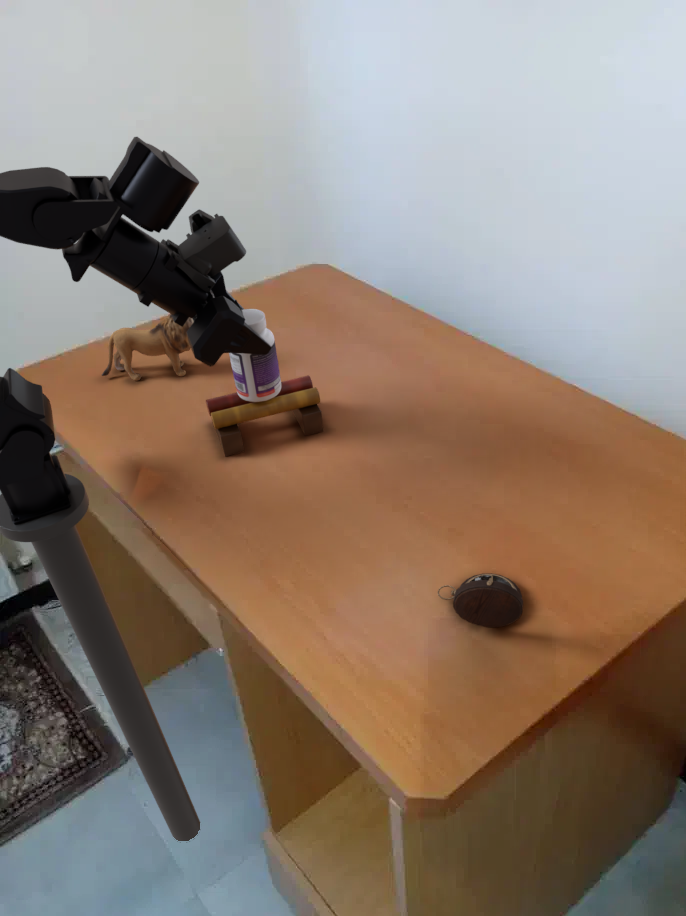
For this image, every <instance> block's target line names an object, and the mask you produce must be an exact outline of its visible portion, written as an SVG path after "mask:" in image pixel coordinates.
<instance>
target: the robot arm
mask: <svg viewBox="0 0 686 916" xmlns="http://www.w3.org/2000/svg"><path fill="white" fill-rule="evenodd" d="M199 184H200V181H199V179H198V178H197V176H195V174H194V173H192V172H191V171H190V170H189V169H188V168H187V167H186V166H185V165H184V164H182V162H180V161H179V160H178V159H176V158H175V157H174V156H173V155H171V154H170V153H169V152H167V151H165V150H164V149H163V150H161V149H159V148H158V147H156V146H154V145H153V144H150V143H148V142H146V141H144V140H143V139H141V138H140V137H139V136H134V137H133V138H132V140H131V141H130V143H129V144H128V146H127V148H126V152H125V154H124V157H123V158H122V160H121V161H120V163H119V164H118V166H117V167H116V169H115V170H114V172H113V174H112V175H111V177H110V179H109V177H108V176H106V175H67V174H66V172H64V171H63V170H60V169H58V168H55V167H50V166H40V167H39V166H38V167H30V168H21V169H12V170H11V169H10V170H7V171H3V172H0V237H1V238H4V239H7V240H8V241H12V242H14V243H18V244H21V245H28V246H33V247H38V248H43V249H44V248H45V249H49V250H61V252H62V257H63V259H64V261H65V262H66V264H67V266H68V269H69V271H70V276H71V279H72V281H73V282H75V283H79V282H80V281H81V279H83V276H85V274H86V272H87V270H88V269H89V267H90V268H93V269H94V270H96V271H98V272H99V273H101V274H103V275H104V276H106V277H108V278H110V279H111V280H112V281H113V280H114V282H116V283H118V284H119V285H121V286H123V287H125V288H126V289H128V290H130V291H131V292H133V293H135V294H136V295H137V298H138V302H139V303H141V304H142V305H144V306H146V307H147V308H149V307H150V305H151V304H153V305H155V306H156V307H158V308H160V309H161V310H163V311H165V312H167V313H169V314H171V315H172V318H173V320H174V322H175V323H176V324H178V325H180V326H182V327H183V325H184V324H185V323H186V321H187V320H188V318H189V317H190V318H192V319H193V321H194V322H193V324H192V325H191V327H190V328H189V329H188V331H187V336H188V341H189V344H190V347H191V348H190V350H191V352H192V354H193V356H194V359H196V360H197V361H199V362H201V363H203V364H204V365H206V366H207V367H209V368H211V367H214V366H215V365H216V364H217V363H218V361H219V360H220V358H221V357H222V356H223V355H224V354H229V353H244V354H260V355H267V354H268V353H269V351H270V350H271V349H272V347H271V346H270V345H269V344H268V343H267V342H266V341H265V340H264V339H263V338H262V337H261V336H260V335H259V334H258V333H256V332H255V331H254V330H253V329H252V328H251V327H250V326H249V325H247V324H246V323H245V318H244V316H243V312H242V310H243V309H245V308H244V307H243V306H242V304H240V303H239V302H238V300H237V299H235V298H234V297H233V295H231V293H230V292H229V291H228V290H227V288H226V283H225V277H224V274H223V272H222V271H223V270H225V269H226V268H227V267H229V266H231V265H232V264H233V263H235V262H236V263H237V262H239V261H241V260H242V259H244V258H245V256H246V254H247V249H246V247H245V246H244V245H243V242H241V240H240V238H239V237H238V236H237V234H236V233H235V231H234V229H233V228H232V227H231V225H230V224H229V222H228V221H227V220H226V218H225V216H224V215H219V214H218V213H215V214H214V215H213V216H212V215H210V214H209V213H207V212H205V211H204V210H202V209H197V210H195V211H193V213H191V214H190V215H189V216H188V221H189V227H190V232H191V233H190V232H188V233H187V234H185V235H186V239H185V240H183V241H182V242H181V243H180V244H177V243H175V242H174V241H172V240H171V239H169V238H168V239H164V238H163V239H161V241H159V240H158V239H156V238H155V237H153V236H151V235H150V234H148V233H147V232H149V233H153V232H156V233H158V234H160V233H161V232H162V230H165V231H168V230H169V229H170V227H171V226H172V224H173V223H174V221H175V220H176V219H177V217H178V215H179V214H180V213H181V211H182V210H183V208H184V207H185V205H186V204H187V202H188V201H189V199H190V197H191V196H192V195H193V193H194V192H195V191H196V189H197V187H198V186H199ZM123 216H124V217H126V218H128V219H129V220H130V221H131V222H132V223H131V222H130V221H128V220H126V218H123ZM136 225H137V226H138V227H137V226H136ZM142 229H143V230H145V231H147V232H145V231H143V230H142ZM43 392H44V391H43V385H41V384H38V383H34V382H32V381H29V380H27V379H26V378H25V377H23V375H21V374H20V373H19V372H18V371H16V370H15V369H13V368H11V367H8V368H7V370H6V371H5V373H4V375H3V376H0V494H2V495H3V497H4V499H5V501H6V504H7V506H8V508H9V511H10V515H11V519H12V522H13V524H14V525H19V524H22V523H25V522H28V521H31V520H34V519H37V518H40V517H43V516H47V515H50V514H53V513H56V512H59V511H62V510H65V509H68V508H70V507H71V503H70V500H69V497H68V494H70V493H71V491H70V488H69V485H68V482H67V479H66V477H65V474H66V473H65V472H64V470H63V467H62V465H61V462H60V459H59V457H58V455H56V454H53V455H52V454H51V451H52V450H53V448H54V446H55V442H56V434H55V426H54V425H55V423H54V417H53V409H52V404H51V401H50V399H49V397H48V396H47V395H46V394H45V393H43Z"/></svg>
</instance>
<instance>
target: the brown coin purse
mask: <svg viewBox="0 0 686 916" xmlns="http://www.w3.org/2000/svg"><path fill="white" fill-rule="evenodd" d="M443 588H451V589H452V590H450V596H452V597H448V598H447V597H443V596H441V594H440V591H441V590H442V589H443ZM437 596H438V597H439V598H440V599H442V600H444V601H450V600H452V601H453V603H452V604H453V606H452V607H453V609H454V611H455V613H456V614H457V615H458V616H459V617H460V618H461V619H462V620H464V621H466V622H467V623H470V624H472V625H475V626H478V627H484V628H498V627H505V626H508V625H511V624H513V623H515V622H516V621H518V620H519V619H520V618H521V617H522V615H523V611H524V610H523V609H524V600H523V594H522V592H521V589H520V588H519V586H518V585H517V584H516V583H515V582H514V581H513V580H511V579H510V578H508V577H506V576H503V575H501V574H497V573H479V574H474V575H472V576H470V577H469V578H466V579H465V580H464V581H463V582H462V583H461V584H460V586H459V587H458V588H457V589H456V587H454V586H453V585H448V584H446V585H445V584H444V585H442V586H440V587H439V588H438V590H437Z"/></svg>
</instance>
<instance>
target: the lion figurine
mask: <svg viewBox="0 0 686 916" xmlns="http://www.w3.org/2000/svg"><path fill="white" fill-rule="evenodd" d="M193 322H194V321H193V319H192V318H190V317H189V318H188V320H187V321H186V323H185V324H184V325H183V327H182V326H180V325H178V324H176V323H175V322H174V320H173V318H172V315H171V314H170V313H169V314H168V315H167V316H166V317H164V319H163V320H160V321H159V322H158V323H157V324H156V325H155V326H154V327H153V328H151V329H136V328H132V327H122V328H119V329H116V330H114V331H113V332H112V333H111V335H110V337H109V339H108V347H107V348H108V364H107V367H106V368H105V369H104V371H103V372H102V373H101V376H102V377H106V376H109V374H110V373H111V370H112V366H113V364H114V368H115V369H116V370H117V371H125V372H126V373H127V374H128V375H129V377H130V379H131V380H133V381H135V382H137V381H140V380H141V379H142V374H140V373H136V372H135V371H134V370H133V368H132V362H133V352H134V351H135V352H138V353H139V354H142V355H143V356H148V357H159V356H163V355H166V356H167V358H168V359H169V360H170V363H171V365H172V368H173V371H174V373H175V374H176V375H177V376H178V377H184V376H186V374H187V371H186V370H185V369H182V367H183V366H184V364H185V363H184V361H183V360H181V357H180V354H183V353H185V352H190V351H191V347H190V344H189V341H188V336H187V331H188V329H189V328H190V327H191V325H192V324H193ZM114 346H115V348H116V352H115V353H114ZM121 360H122V361H123V363H121Z"/></svg>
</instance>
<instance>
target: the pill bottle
mask: <svg viewBox="0 0 686 916" xmlns="http://www.w3.org/2000/svg"><path fill="white" fill-rule="evenodd" d="M242 312H243V316H244V318H245V323H246V324H247V325H249V326H250V327H251V328H252V329H253V330H254V331H255V332H256V333H258V334H259V335H260V336H261V337H262V338H263V339H264V340H265V341H266V342H267V343H268V344H269V345H270V346H271V347H272V349H271V350H270V351H269V353H268V354H267V355H260V354H244V353H228V355H229V361H230V366H231V370H232V375H233V380H234V385H235V390H236V392H237V394H238V395H239V397H240V398H242V399H243V400H246V401H250V402H261V401H266V400H269V399H272V398H273V397H275V396H276V395H278V393H279V392H280V390H281V382H282V379H281V378H282V377H281V374H280V366H279V360H278V353H277V347H276V340H275V335H274V333H273V332H272V330H271V329H270V328H267V319H266V314H265V312H264V311H262V310H260V309H258V308H257V309H256V308H244V309H243V310H242Z"/></svg>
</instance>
